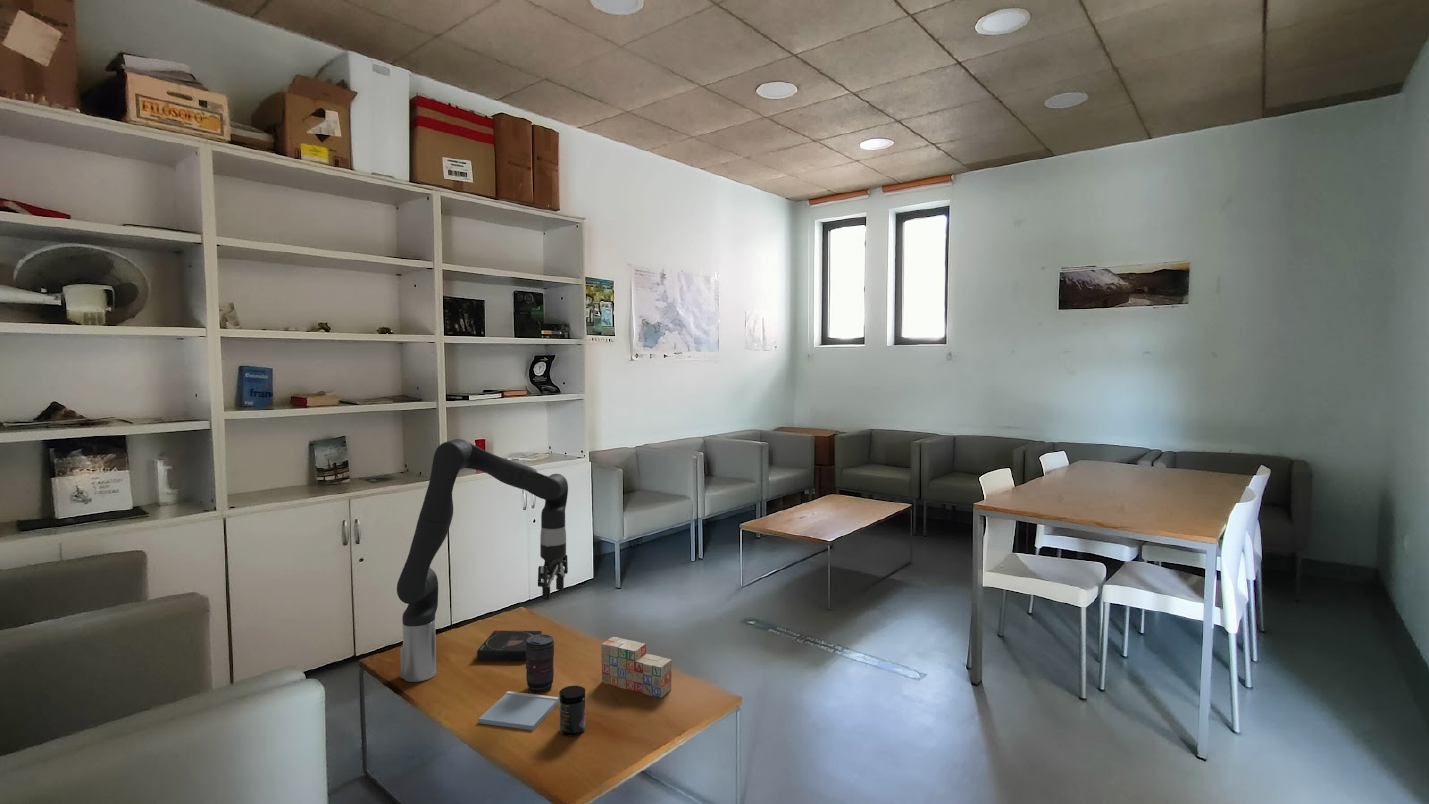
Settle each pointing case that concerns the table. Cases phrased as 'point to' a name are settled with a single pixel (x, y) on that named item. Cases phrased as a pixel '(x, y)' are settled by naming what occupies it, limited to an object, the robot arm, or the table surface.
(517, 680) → the table surface
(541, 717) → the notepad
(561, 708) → the supplement container
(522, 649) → the portable cd player
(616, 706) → the table surface
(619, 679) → the stack of blocks
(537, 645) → the camera lens
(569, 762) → the table surface
